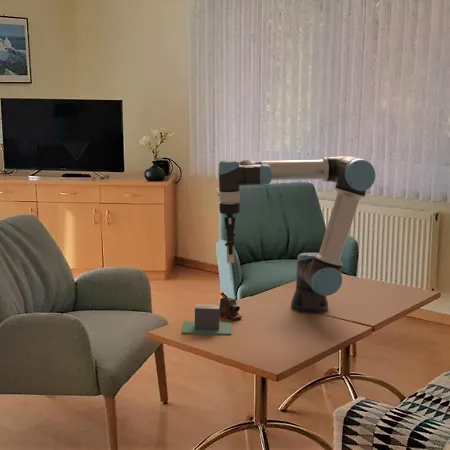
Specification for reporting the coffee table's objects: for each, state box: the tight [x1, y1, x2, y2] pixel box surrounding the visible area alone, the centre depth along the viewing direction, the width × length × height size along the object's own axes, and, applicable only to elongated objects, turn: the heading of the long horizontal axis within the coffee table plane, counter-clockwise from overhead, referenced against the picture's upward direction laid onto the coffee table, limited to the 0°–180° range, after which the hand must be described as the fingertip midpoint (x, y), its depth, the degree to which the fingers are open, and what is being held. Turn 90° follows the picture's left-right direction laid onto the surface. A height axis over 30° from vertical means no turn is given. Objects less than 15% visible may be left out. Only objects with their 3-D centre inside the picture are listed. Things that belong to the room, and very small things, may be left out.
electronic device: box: [219, 297, 243, 322], centre depth 267 cm, size 4×10×8 cm, turn 41°
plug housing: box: [194, 303, 220, 330], centre depth 253 cm, size 9×5×8 cm, turn 89°
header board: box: [181, 320, 232, 336], centre depth 253 cm, size 18×12×4 cm, turn 89°
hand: (230, 258), depth 255 cm, fingers open, 13 cm apart
